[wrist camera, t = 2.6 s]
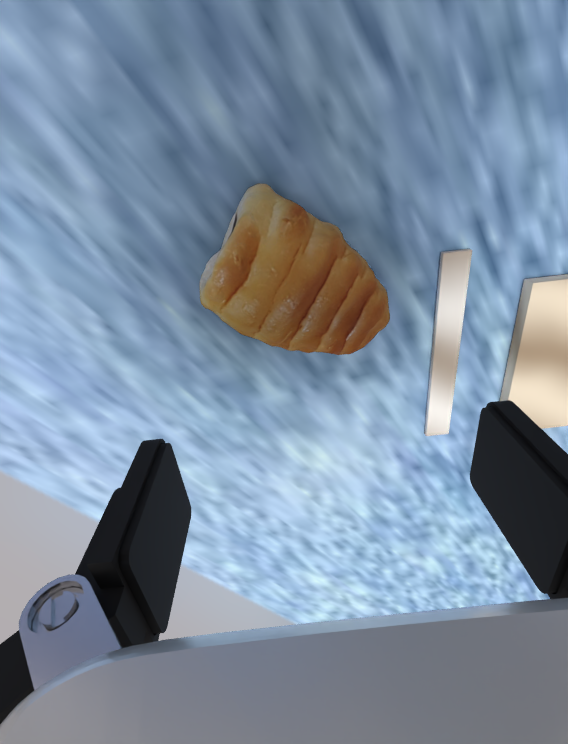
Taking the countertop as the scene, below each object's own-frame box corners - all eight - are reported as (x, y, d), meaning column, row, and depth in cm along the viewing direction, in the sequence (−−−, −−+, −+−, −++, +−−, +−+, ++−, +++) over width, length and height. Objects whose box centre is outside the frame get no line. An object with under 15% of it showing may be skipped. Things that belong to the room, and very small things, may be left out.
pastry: (408, 268, 20) (438, 288, 17) (339, 369, 23) (353, 404, 19) (247, 172, 17) (244, 172, 14) (191, 298, 20) (177, 324, 17)
